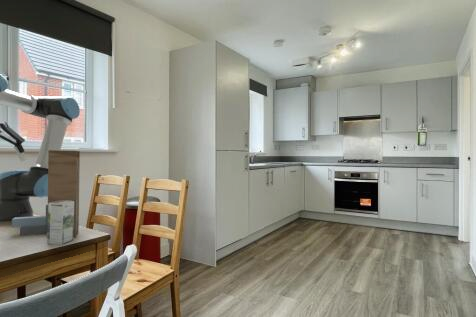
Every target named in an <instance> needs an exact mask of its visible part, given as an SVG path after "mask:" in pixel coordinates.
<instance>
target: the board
mask: <svg viewBox="0 0 476 317" xmlns="http://www.w3.org/2000/svg"><path fill="white" fill-rule="evenodd" d="M36 235H47V226H46V225H42V226H27V227H19V237H22V236H36Z"/></svg>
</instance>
